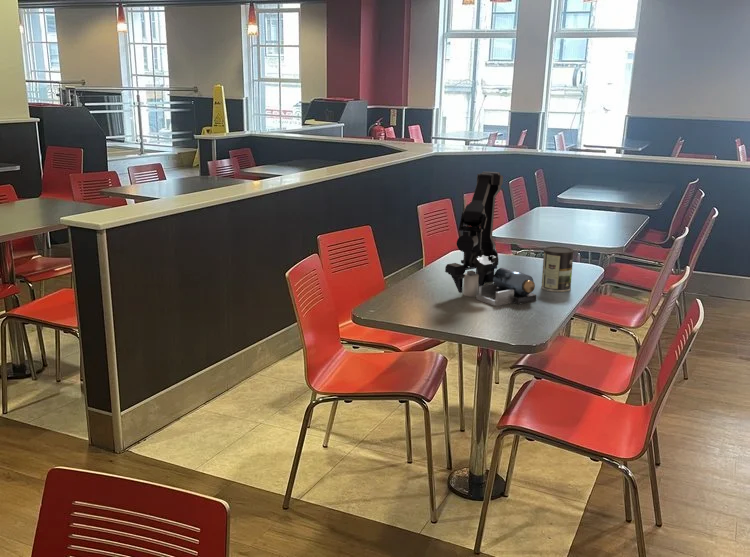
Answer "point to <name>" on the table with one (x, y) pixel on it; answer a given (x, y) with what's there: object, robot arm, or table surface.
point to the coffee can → (557, 269)
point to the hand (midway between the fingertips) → (470, 290)
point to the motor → (508, 288)
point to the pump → (470, 284)
